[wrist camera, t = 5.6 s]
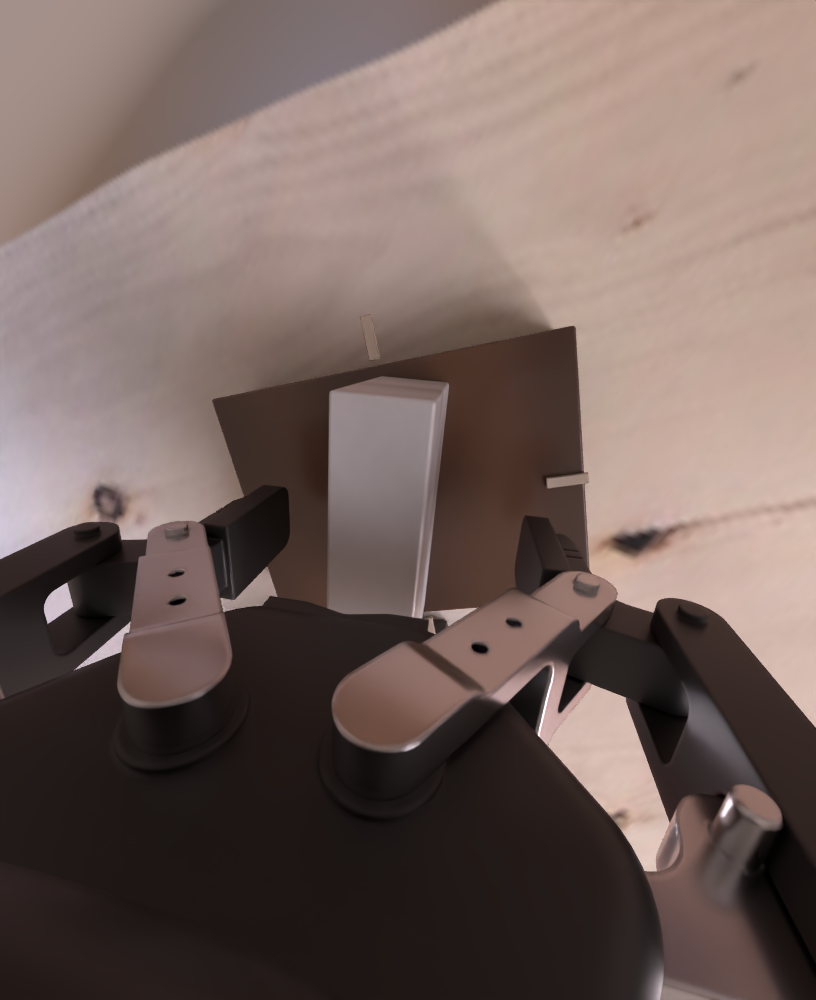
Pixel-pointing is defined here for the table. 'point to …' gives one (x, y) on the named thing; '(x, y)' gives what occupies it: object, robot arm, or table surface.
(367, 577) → the white bar red tip
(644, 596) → the table surface
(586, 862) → the robot arm
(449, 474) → the block
